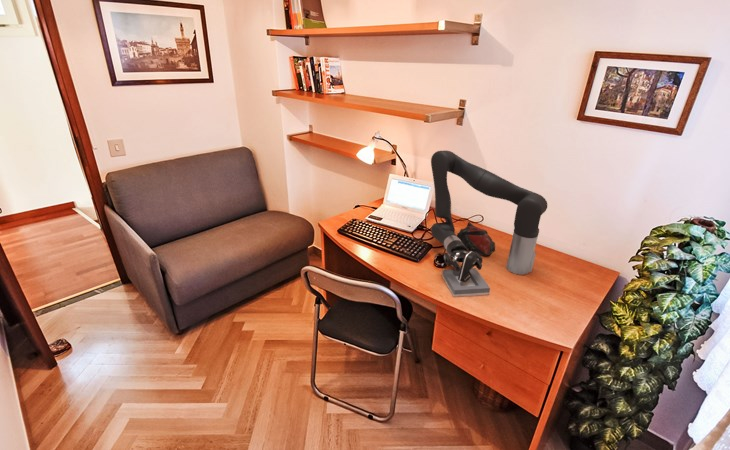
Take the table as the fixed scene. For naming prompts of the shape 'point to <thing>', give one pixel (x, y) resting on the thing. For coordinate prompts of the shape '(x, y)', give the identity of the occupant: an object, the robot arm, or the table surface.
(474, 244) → the drone shell
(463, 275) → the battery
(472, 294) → the tray
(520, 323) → the table surface
